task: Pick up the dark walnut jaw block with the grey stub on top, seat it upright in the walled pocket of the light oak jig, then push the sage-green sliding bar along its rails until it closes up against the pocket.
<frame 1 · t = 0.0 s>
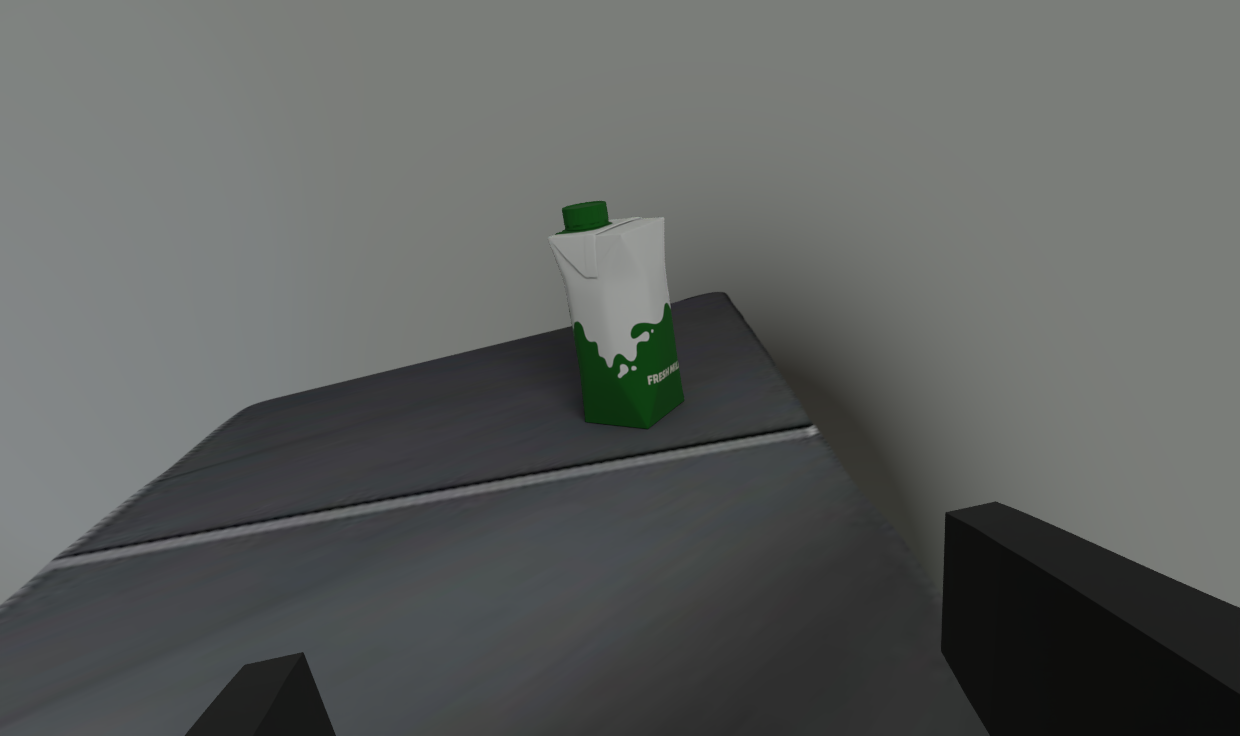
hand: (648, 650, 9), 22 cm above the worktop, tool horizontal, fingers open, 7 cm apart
milk carton: (636, 413, 75), on the worktop
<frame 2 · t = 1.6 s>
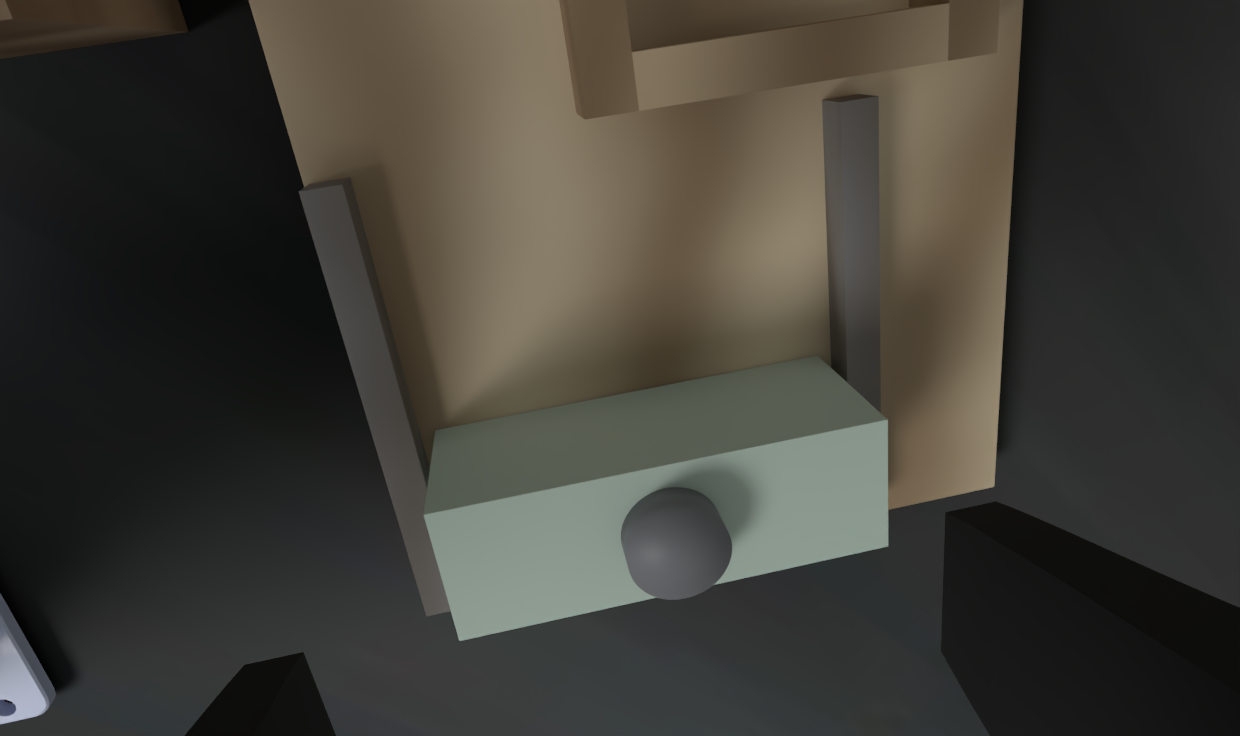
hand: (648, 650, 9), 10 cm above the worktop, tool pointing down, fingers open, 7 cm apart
oak jig: (663, 95, 17), on the worktop
slider bar: (657, 495, 16), point 3 cm above the worktop, slide at 0.0 cm
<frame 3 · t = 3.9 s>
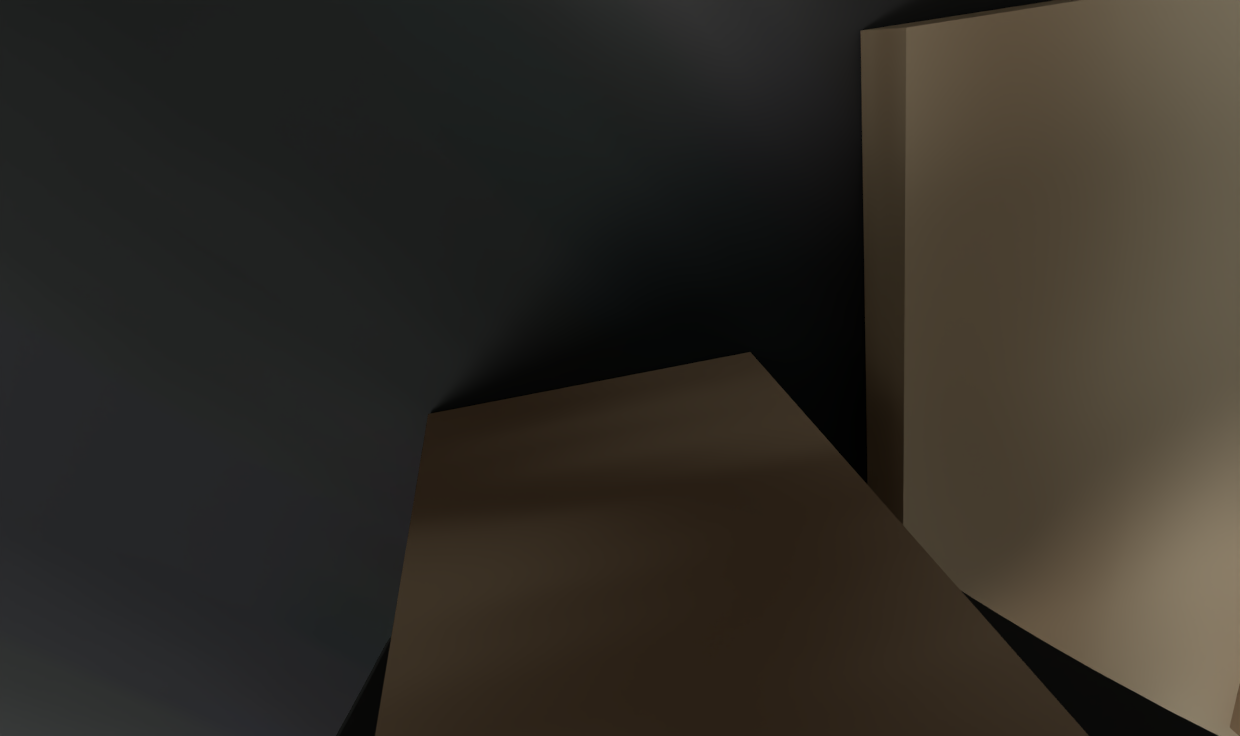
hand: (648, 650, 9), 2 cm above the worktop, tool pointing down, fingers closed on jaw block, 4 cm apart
jaw block: (620, 549, 10), on the worktop, touching gripper
when the fingers open (4 cm above the worktop, at t = 7.1 s): jaw block stays where it is, resting on oak jig.
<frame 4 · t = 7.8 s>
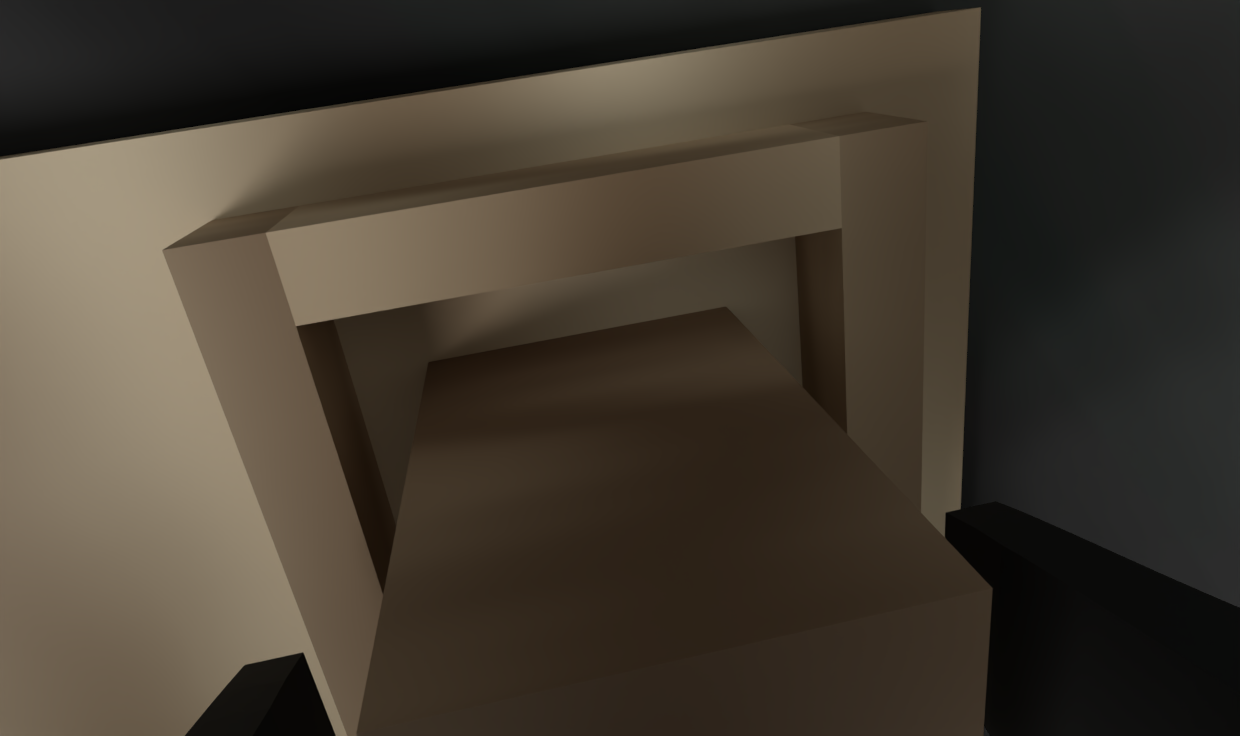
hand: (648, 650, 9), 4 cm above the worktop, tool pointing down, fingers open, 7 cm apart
jaw block: (607, 493, 11), point 1 cm above the worktop, touching oak jig
oak jig: (533, 734, 14), on the worktop
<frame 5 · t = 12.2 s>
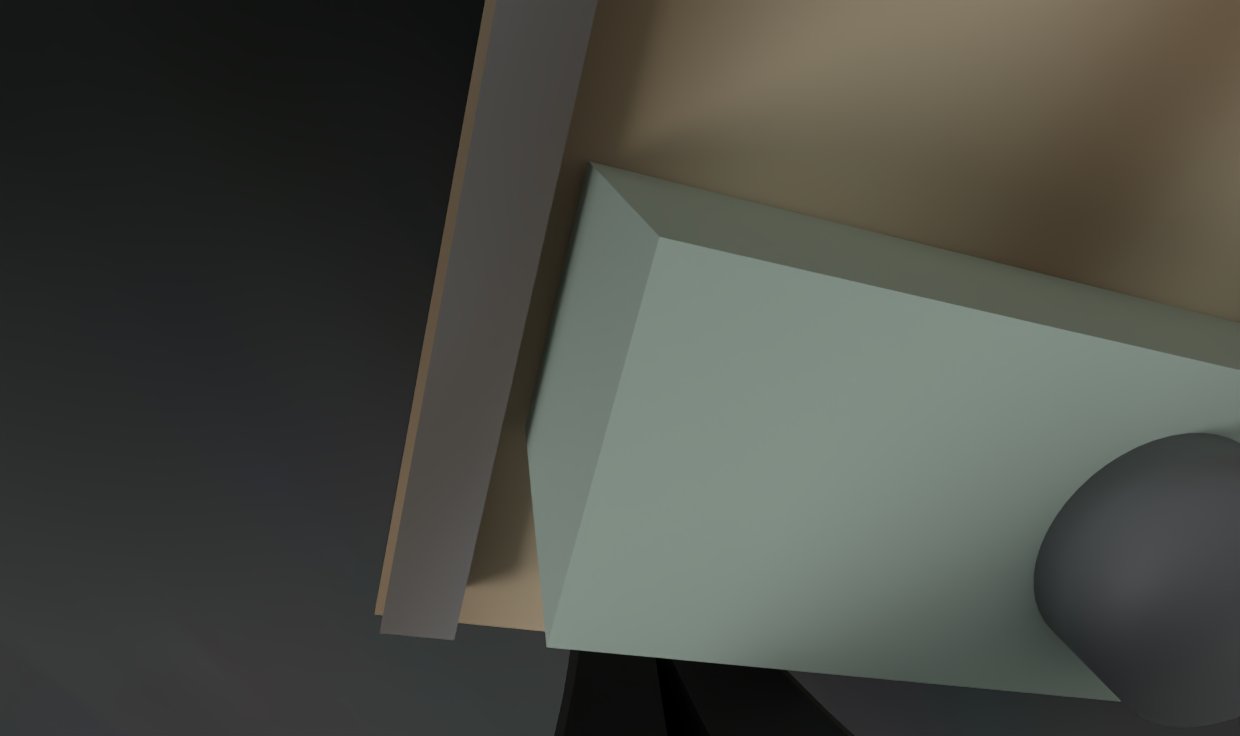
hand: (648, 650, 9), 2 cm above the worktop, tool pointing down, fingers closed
slider bar: (1039, 464, 7), point 3 cm above the worktop, slide at 1.0 cm, touching gripper
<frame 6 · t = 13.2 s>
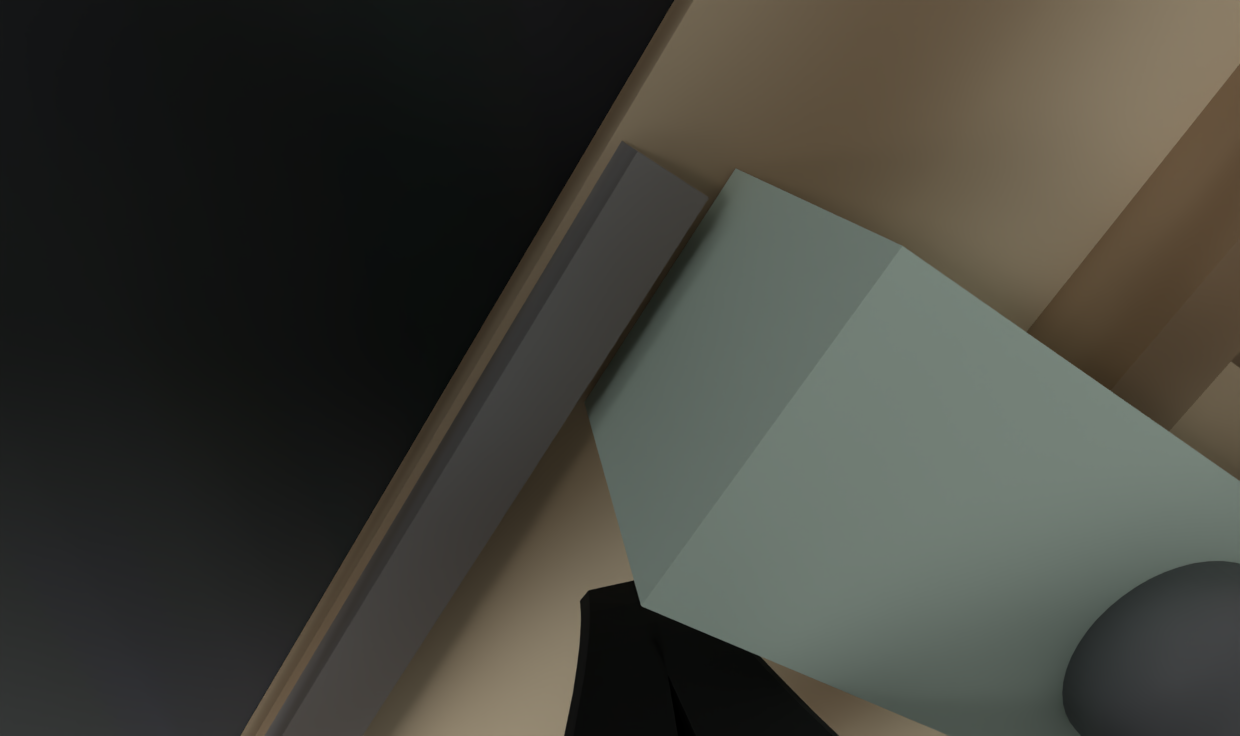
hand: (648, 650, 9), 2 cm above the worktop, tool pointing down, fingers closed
oak jig: (1065, 386, 11), on the worktop
slider bar: (1063, 563, 8), point 3 cm above the worktop, slide at 6.1 cm, touching gripper
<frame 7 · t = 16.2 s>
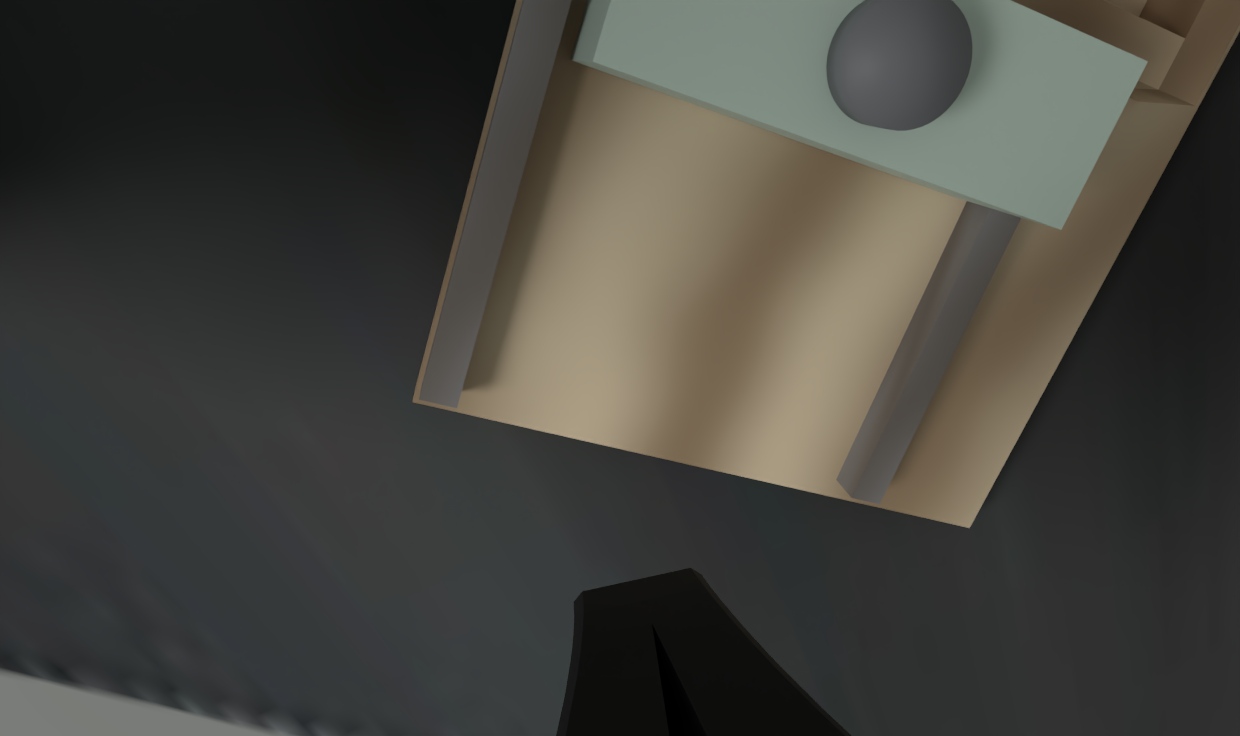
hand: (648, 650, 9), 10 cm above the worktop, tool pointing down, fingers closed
oak jig: (888, 7, 17), on the worktop
slider bar: (849, 60, 14), point 3 cm above the worktop, slide at 6.0 cm
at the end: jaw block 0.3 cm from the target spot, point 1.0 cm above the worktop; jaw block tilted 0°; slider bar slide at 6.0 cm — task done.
